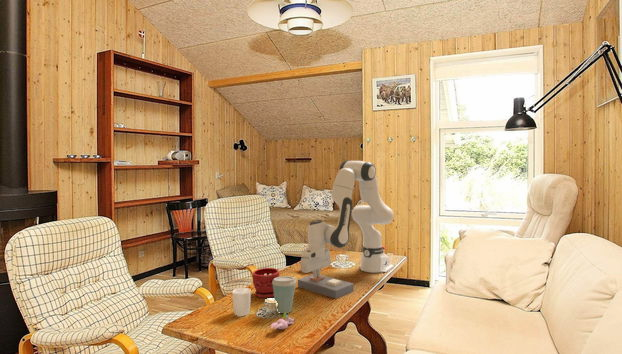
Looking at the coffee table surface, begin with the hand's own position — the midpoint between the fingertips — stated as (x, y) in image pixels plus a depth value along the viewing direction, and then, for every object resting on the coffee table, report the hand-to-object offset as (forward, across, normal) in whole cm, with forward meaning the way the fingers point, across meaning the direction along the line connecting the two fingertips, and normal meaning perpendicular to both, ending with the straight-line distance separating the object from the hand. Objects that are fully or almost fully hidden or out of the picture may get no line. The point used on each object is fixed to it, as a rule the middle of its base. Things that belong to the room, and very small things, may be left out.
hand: (316, 277), depth 198 cm
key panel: (+5, 0, +6) cm, 8 cm away
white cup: (+5, +48, 0) cm, 48 cm away
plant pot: (+5, +26, -10) cm, 28 cm away
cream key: (+2, 0, +12) cm, 12 cm away
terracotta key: (+3, 0, 0) cm, 3 cm away
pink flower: (+5, +46, +24) cm, 52 cm away
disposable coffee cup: (+5, +34, +12) cm, 36 cm away
